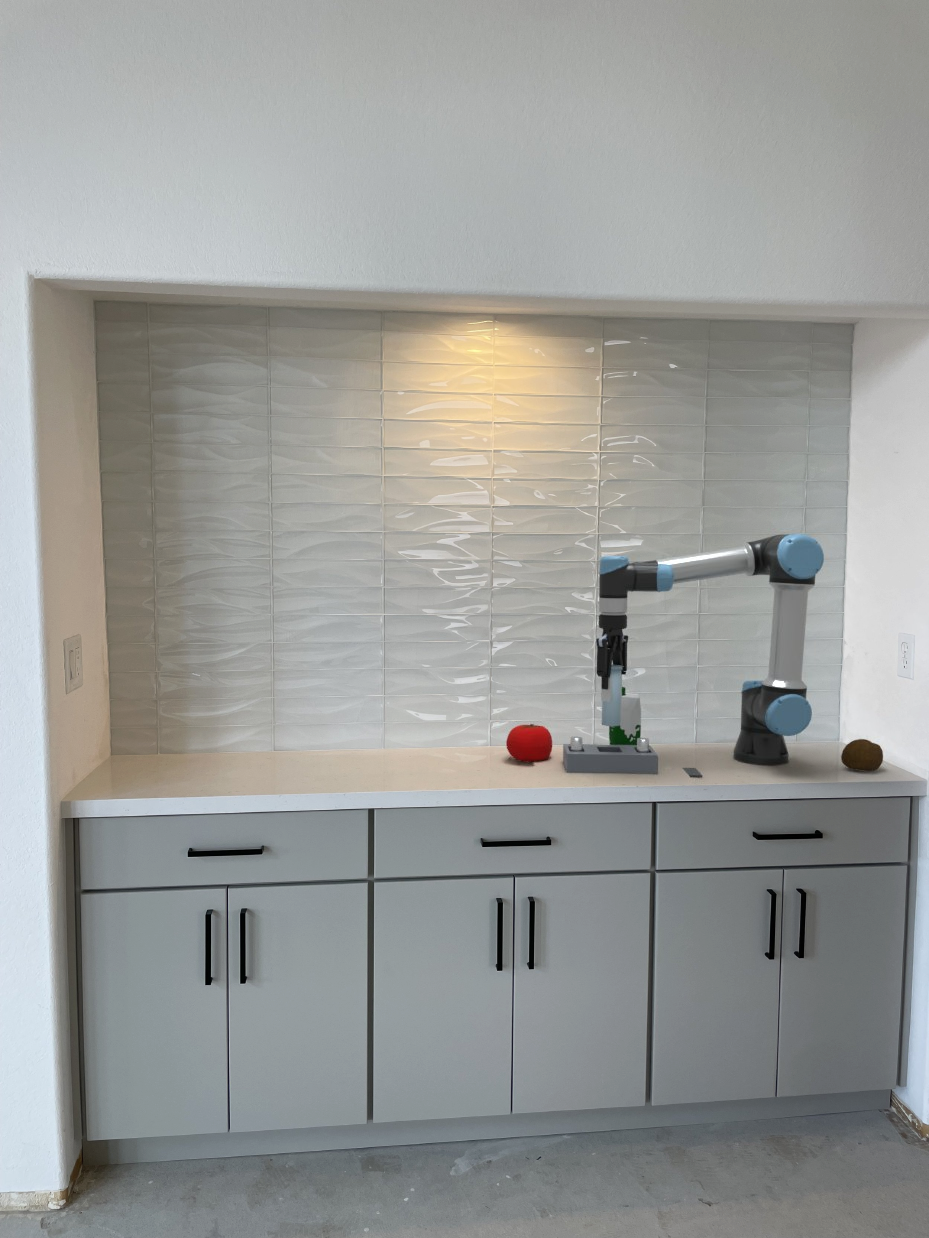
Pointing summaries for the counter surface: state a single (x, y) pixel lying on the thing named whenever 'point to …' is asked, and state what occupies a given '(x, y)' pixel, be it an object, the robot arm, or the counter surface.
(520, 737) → the tomato
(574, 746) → the plunger
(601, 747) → the housing
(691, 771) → the mat
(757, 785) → the counter surface
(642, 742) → the plunger
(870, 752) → the potato
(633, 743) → the milk carton
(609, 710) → the cartridge
